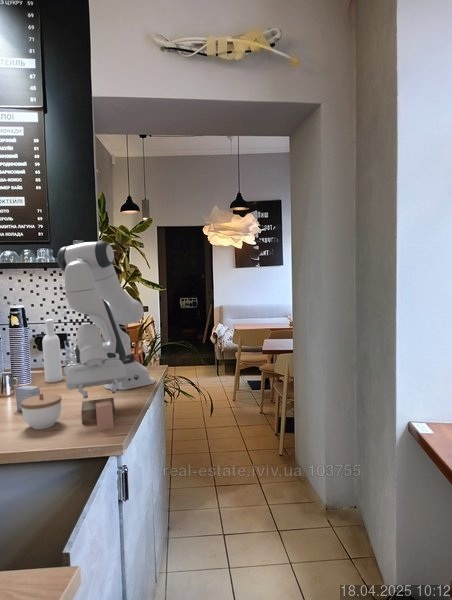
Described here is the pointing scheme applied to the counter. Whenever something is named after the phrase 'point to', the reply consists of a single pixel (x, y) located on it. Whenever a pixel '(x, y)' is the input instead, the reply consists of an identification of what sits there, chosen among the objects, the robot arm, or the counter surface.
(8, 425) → the counter surface
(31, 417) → the lidded bowl
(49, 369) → the bottle
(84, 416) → the walnut block
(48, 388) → the counter surface
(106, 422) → the terracotta block
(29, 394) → the medicine box
